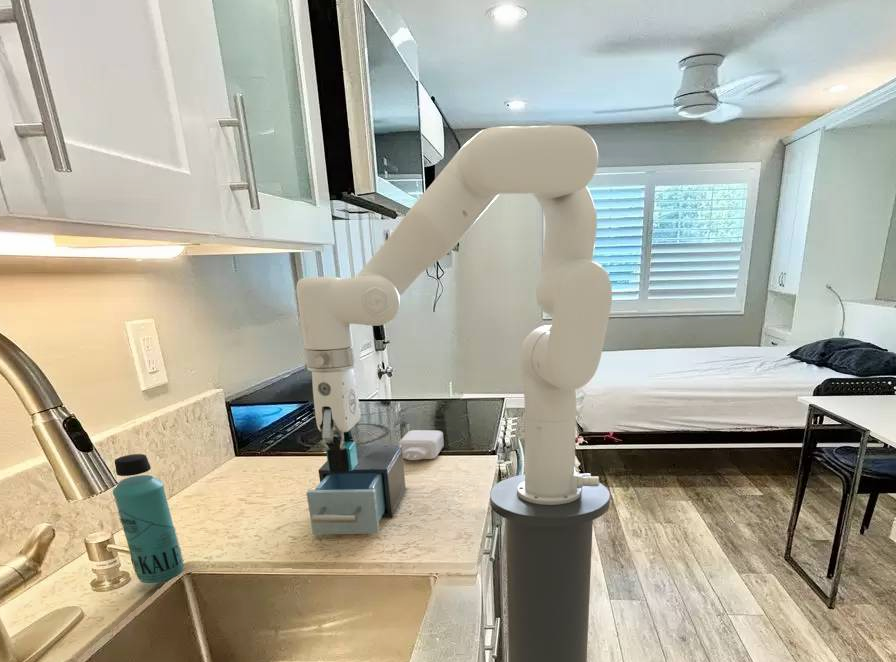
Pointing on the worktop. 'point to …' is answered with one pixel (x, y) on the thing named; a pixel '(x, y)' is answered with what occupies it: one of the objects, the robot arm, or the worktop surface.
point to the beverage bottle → (147, 521)
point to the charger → (421, 444)
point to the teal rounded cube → (350, 455)
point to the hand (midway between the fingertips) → (343, 465)
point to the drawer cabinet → (379, 471)
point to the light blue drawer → (347, 504)
